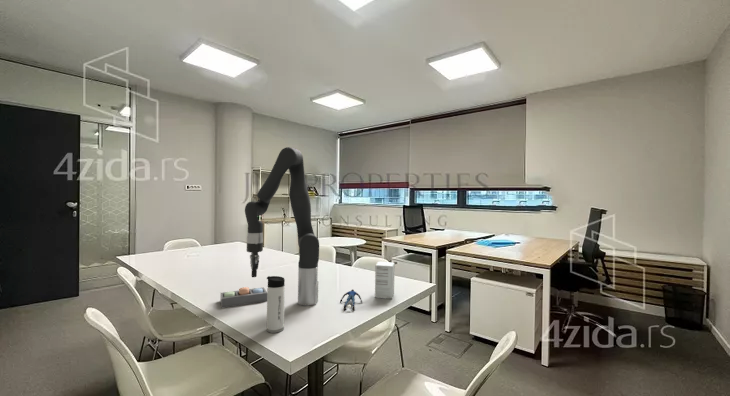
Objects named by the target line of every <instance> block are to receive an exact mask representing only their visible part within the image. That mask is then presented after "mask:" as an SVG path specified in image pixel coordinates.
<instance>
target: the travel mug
mask: <svg viewBox="0 0 730 396" xmlns="http://www.w3.org/2000/svg"><path fill="white" fill-rule="evenodd" d="M266 280H267V290H266V292H267V301H266V331H267V332H268V333H270V334H276V333H280V332H282V331H283V330H284V329H285V325H284V324H285V291H286V290H285V289H286V288H285V287H286V284H285V280H286V279H285V277H282V276H277V275H276V276H275V275H271V276H270V275H268V276H267V277H266Z"/></svg>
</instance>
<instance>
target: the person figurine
mask: <svg viewBox="0 0 730 396" xmlns="http://www.w3.org/2000/svg"><path fill="white" fill-rule="evenodd" d="M345 296H347V298H346V301H345V303H344V305H343V311H345V310H346V311H347V309H351V307H352V309H351V311H352V310H353V311H355V310H356V307H355V304H356V303H355V300H356V298H355V296H357V297H358V299H359V300H360V301H359V303H360V304H363V300H362V297H361V296H360V294H359V293H358V292H357V291H355V290H354V289H351V290H350V291H349V290H348V291H347V292H345V293H344V294H343V295H342V297H341V299H340V301H339V303H342V302H343V299H344V298H345ZM350 301H351V303H352V305H351V304H348V303H349V302H350ZM353 311H352V312H353Z"/></svg>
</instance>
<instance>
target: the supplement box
mask: <svg viewBox="0 0 730 396" xmlns="http://www.w3.org/2000/svg"><path fill="white" fill-rule="evenodd" d="M395 264H396V263H395V262H392V261H389V262H388V261H377V262H376V264H375V269H374V270H375V271H374V272H375V274H374V275H375V276H374V278H375V280H374V283H375V285H374V287H375V288H374V296H375V297H380V298H379V299H386V298H394V295H395ZM375 297H374V298H375Z"/></svg>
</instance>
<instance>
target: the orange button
mask: <svg viewBox="0 0 730 396" xmlns="http://www.w3.org/2000/svg"><path fill="white" fill-rule="evenodd" d="M249 289H250V288H249V287H248V286H246V287H243V286H242V287H240V288H238V291H239V295H245V294H249Z"/></svg>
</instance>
